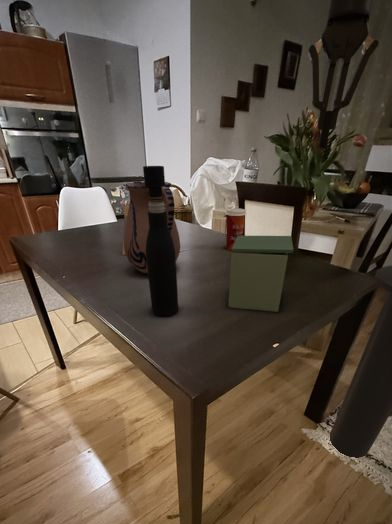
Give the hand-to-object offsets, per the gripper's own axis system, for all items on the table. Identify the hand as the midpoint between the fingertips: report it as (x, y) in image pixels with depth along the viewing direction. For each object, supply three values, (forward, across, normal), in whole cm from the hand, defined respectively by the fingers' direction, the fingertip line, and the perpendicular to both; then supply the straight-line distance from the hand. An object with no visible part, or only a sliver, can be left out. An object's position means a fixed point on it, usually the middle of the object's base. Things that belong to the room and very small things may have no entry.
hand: (321, 147), depth 65 cm
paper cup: (+33, +22, -30) cm, 49 cm away
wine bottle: (+33, +32, +26) cm, 53 cm away
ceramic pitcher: (+33, +43, 0) cm, 54 cm away
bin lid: (+19, +11, +15) cm, 26 cm away
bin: (+32, +11, +15) cm, 37 cm away
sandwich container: (+33, +60, -22) cm, 72 cm away
